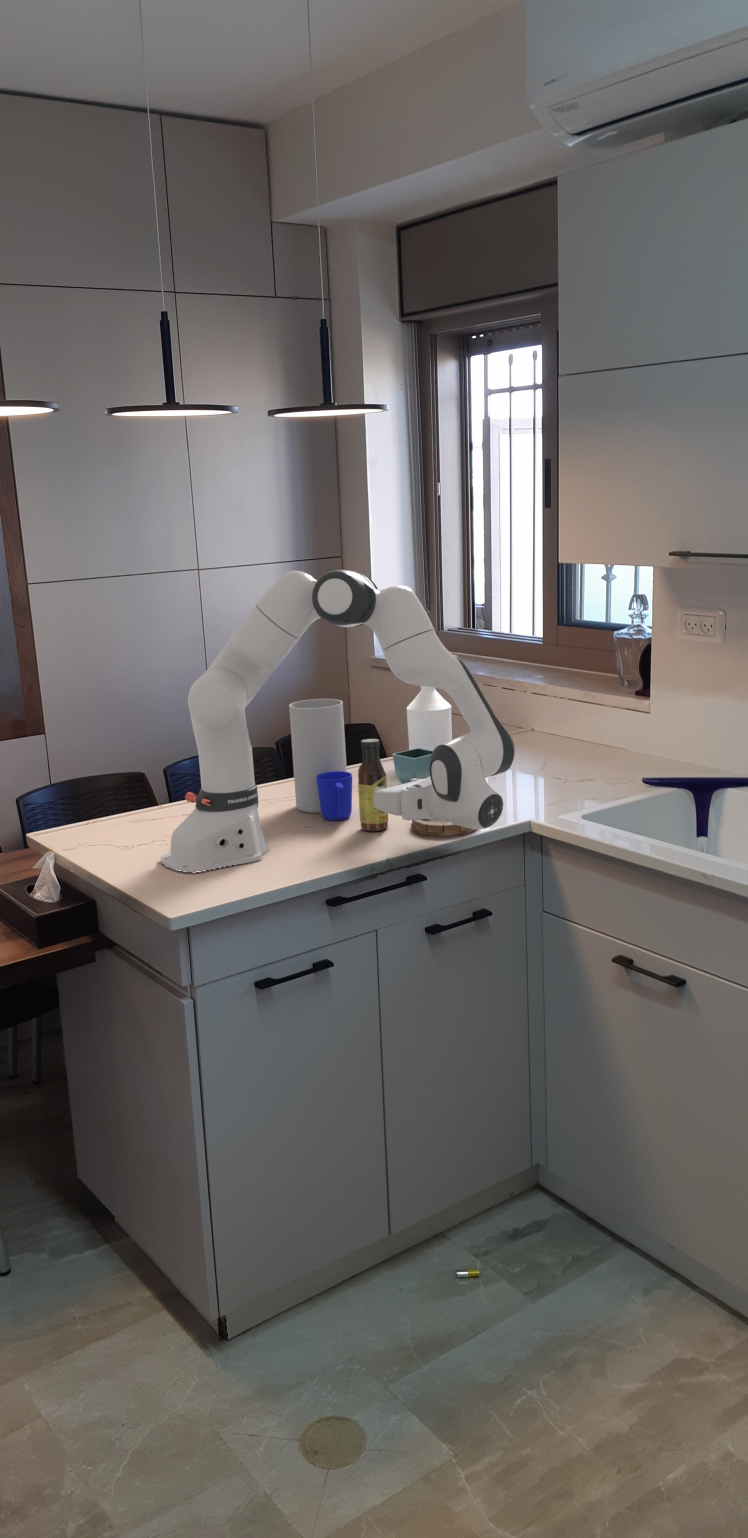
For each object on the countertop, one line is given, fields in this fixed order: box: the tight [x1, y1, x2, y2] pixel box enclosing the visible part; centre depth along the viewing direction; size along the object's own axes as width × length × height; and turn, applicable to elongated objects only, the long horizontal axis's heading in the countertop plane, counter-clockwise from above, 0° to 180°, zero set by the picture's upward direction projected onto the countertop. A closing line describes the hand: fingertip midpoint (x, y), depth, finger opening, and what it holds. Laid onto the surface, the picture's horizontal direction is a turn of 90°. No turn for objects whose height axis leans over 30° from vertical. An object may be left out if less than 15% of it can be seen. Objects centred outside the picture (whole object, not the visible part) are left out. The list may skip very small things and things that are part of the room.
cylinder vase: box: [288, 698, 348, 814], centre depth 273 cm, size 12×12×25 cm
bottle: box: [406, 686, 453, 751], centre depth 309 cm, size 12×12×25 cm
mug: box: [316, 771, 353, 821], centre depth 263 cm, size 8×12×10 cm
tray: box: [410, 819, 478, 838], centre depth 254 cm, size 15×15×2 cm
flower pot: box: [391, 748, 433, 785], centre depth 288 cm, size 9×9×9 cm
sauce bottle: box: [357, 738, 389, 832], centre depth 254 cm, size 6×6×20 cm
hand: (394, 786), depth 247 cm, fingers open, 8 cm apart
